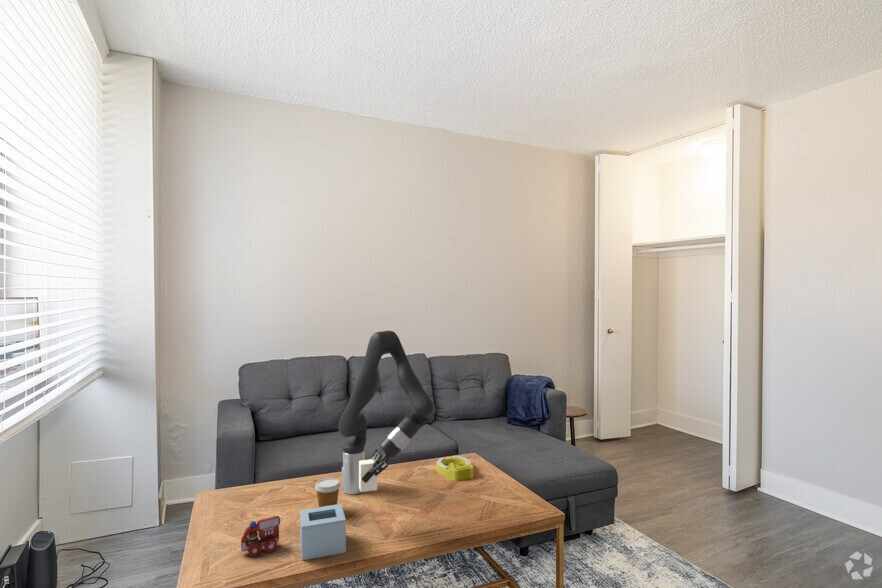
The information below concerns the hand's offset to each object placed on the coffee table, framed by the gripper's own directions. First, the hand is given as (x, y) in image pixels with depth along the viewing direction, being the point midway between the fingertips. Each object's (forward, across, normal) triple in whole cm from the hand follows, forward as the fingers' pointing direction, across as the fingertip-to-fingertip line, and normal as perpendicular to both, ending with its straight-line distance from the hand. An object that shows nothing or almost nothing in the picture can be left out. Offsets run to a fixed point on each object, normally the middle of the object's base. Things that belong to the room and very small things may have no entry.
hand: (362, 478), depth 172 cm
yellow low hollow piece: (-22, -38, +50) cm, 66 cm away
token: (+2, 0, +4) cm, 5 cm away
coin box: (+24, +7, +3) cm, 25 cm away
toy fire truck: (+38, +2, -11) cm, 40 cm away
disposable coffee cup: (+21, -16, +6) cm, 27 cm away
